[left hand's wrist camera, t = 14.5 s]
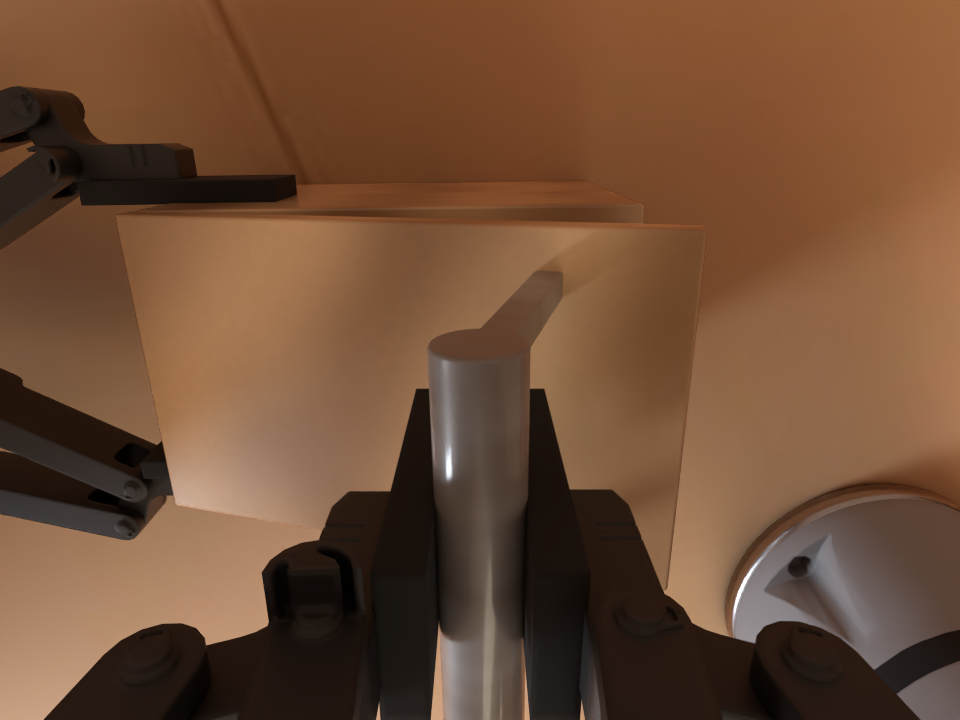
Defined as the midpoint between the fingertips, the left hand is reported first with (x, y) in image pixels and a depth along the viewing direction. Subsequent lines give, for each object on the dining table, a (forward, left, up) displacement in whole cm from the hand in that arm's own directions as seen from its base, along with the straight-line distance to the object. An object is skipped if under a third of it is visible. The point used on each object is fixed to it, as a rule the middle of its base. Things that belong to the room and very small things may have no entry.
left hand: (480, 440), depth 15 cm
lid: (+2, 0, -4) cm, 4 cm away
